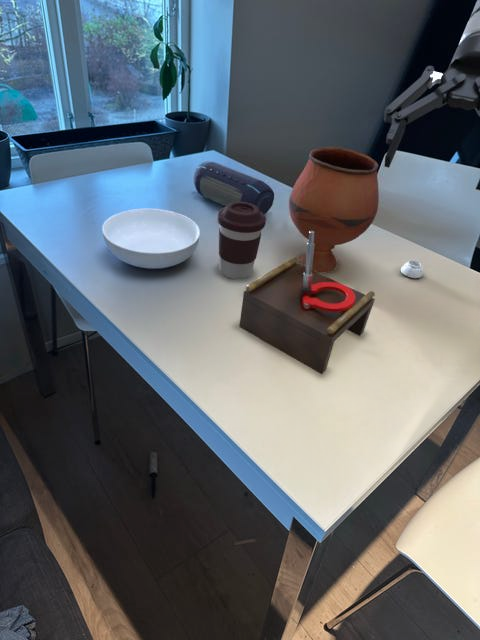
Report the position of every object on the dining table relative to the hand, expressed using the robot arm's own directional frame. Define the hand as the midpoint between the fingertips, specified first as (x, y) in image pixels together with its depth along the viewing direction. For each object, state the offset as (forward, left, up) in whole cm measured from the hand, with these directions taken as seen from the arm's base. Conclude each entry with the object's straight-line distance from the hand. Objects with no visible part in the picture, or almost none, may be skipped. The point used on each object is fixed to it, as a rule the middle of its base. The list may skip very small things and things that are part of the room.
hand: (432, 173), depth 66 cm
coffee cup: (+33, +1, -32) cm, 46 cm away
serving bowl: (+50, +10, -32) cm, 60 cm away
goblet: (+22, -17, -32) cm, 42 cm away
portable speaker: (+57, -26, -32) cm, 70 cm away
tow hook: (+8, +8, -23) cm, 25 cm away
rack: (+11, +8, -32) cm, 34 cm away
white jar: (+4, -30, -32) cm, 44 cm away
